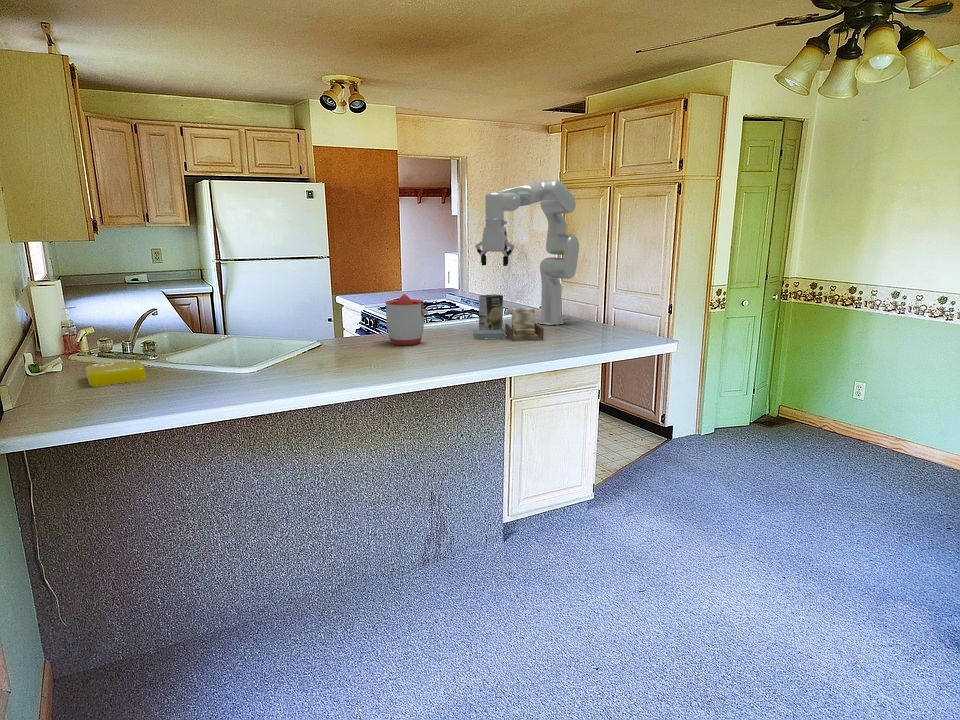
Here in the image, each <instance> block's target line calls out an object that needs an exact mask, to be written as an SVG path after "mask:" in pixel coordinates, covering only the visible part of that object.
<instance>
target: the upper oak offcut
mask: <svg viewBox="0 0 960 720" xmlns="http://www.w3.org/2000/svg"><path fill="white" fill-rule="evenodd" d="M515 335H516V336H525V335H535V329H515Z"/></svg>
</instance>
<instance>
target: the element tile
mask: <svg viewBox="0 0 960 720" xmlns="http://www.w3.org/2000/svg"><path fill="white" fill-rule="evenodd" d="M85 375H86V379H88V380H87V382H89V383H88V385H90V386H92V387H91V388H96V387H95V386H101V387H103V386H102V385H108V386H110V385H109V384H116V383H123V382H130V383H132V382H131V381H137V380H143V379H145V378H146V377H147V375H146V369H145V367H144V365H143V364H142V362H141V361H140V360H139V359H138V360H137V359H132V360H124V361H116V362H107V363H102V362H101V363H95V364H90V365H87V366H86V367H85ZM146 379H147V378H146ZM146 379H145V380H146ZM143 381H144V380H143ZM123 384H124V383H123ZM116 385H117V384H116ZM90 386H89V387H90Z"/></svg>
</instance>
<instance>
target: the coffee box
mask: <svg viewBox="0 0 960 720" xmlns="http://www.w3.org/2000/svg"><path fill="white" fill-rule="evenodd" d="M478 298H479V300H478V301H479V302H478V316H479V317H478V330H502V331H503V325H504V324H503V319H504V316H503V315H504V314H503V313H504V312H503V311H504V307H503V306H504V295H503V294H502V295H501V294H494V293H493V294H482V295H479V296H478Z"/></svg>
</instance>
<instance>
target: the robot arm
mask: <svg viewBox="0 0 960 720" xmlns="http://www.w3.org/2000/svg"><path fill="white" fill-rule="evenodd" d="M484 202H485V204H484V205H485V219H484V220H485V227H483V232H482V238H481V239H482V241H481V242H479V243H477V244H475V245H474V248H475V249H476V251H477V253H478V255H480V263H481V267H482V266H483V267H484V266H487V255H486V254H487V253H488V252H492V253H493V252H499V253H500V252H501V254H503V256H502V257H503V258H502V267H507V266H508V265H509V256H510V255H511V254H512V253H513V250H514V248H515V245H514V244H512V243H510V242H509V241H508V233H507V227H506V226H505V225H507V223H508V221H507V220H505V219H504V218H505V213H504V212H514V211H516V210H518V209H519V207H525V206H530V205H534V204H536V203H539V204H540V208H541V210H542V212H543V213H544V215H545V218H546V220H547V232H546V233H547V234H546V242H545V250H546V253H547V254H550V255H555V256H563V257H555V256H553V257H551V256H550V257H545V258H543V259H542V260H541V261H540V264H539V271H540V278H541V279H540V280H541V292H540V293H541V300H540V302H541V303H540V319H539V320H537V323H541V324H561V323H564V324H565V322H564V321H571V319H572V317H571V315H563V314H562V294H563V293H562V292H563V290H562V289H563V287H562V284H561V281H560V279H567V280H570V279H572V278H574V277H575V275H576V272H577V266H578V259H579V251H580V243H579V239H578V237H577V236H576V235H574V234H570V233H569V234H567V221H566V219H565V217H564V215H563V214H567V215H568V214H571V213H573V212H574V211H575V209H576V205H577V204H576V203H577V202H576V198H575V196H574V195H573V194H572V193H571V192H570V190H569V189H568V187H567V186H566V185H564V183H563V182H562V181H560V180H557V179H551V180H550V179H548V180H545V179H544V180H538V181H535V182H531V183H528V184H525V185H519V186H516V187H512V188H507V189H504V190H500V191H496V192H487V193H486V194H485V201H484Z"/></svg>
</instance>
